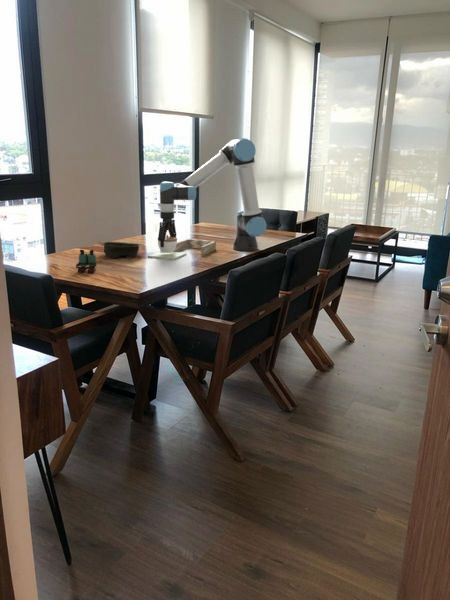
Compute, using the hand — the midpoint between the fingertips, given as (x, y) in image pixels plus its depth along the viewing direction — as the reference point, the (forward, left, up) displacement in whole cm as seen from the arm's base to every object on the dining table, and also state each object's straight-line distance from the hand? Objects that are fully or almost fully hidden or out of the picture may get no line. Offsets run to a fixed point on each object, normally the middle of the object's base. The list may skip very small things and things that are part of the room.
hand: (167, 251), depth 275 cm
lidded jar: (0, 0, -1) cm, 1 cm away
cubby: (-8, -20, -3) cm, 21 cm away
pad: (0, 0, -3) cm, 3 cm away
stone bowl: (+23, +10, -3) cm, 25 cm away
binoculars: (+18, +50, -3) cm, 53 cm away
